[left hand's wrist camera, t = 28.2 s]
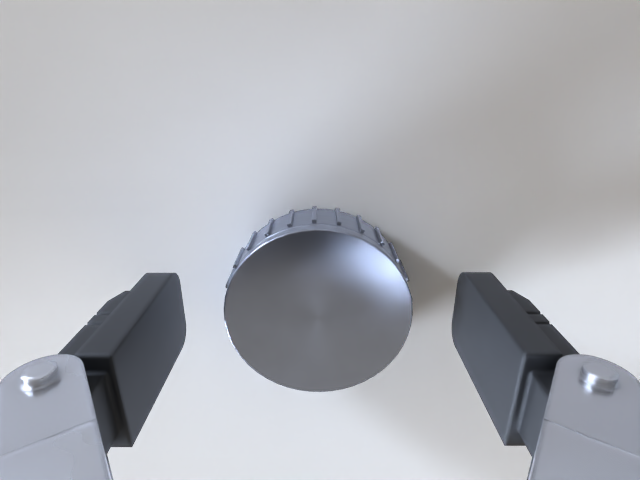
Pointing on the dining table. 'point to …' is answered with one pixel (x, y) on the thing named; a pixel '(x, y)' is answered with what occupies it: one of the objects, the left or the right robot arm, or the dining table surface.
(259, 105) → the dining table surface
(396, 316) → the lid
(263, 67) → the dining table surface
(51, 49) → the dining table surface
